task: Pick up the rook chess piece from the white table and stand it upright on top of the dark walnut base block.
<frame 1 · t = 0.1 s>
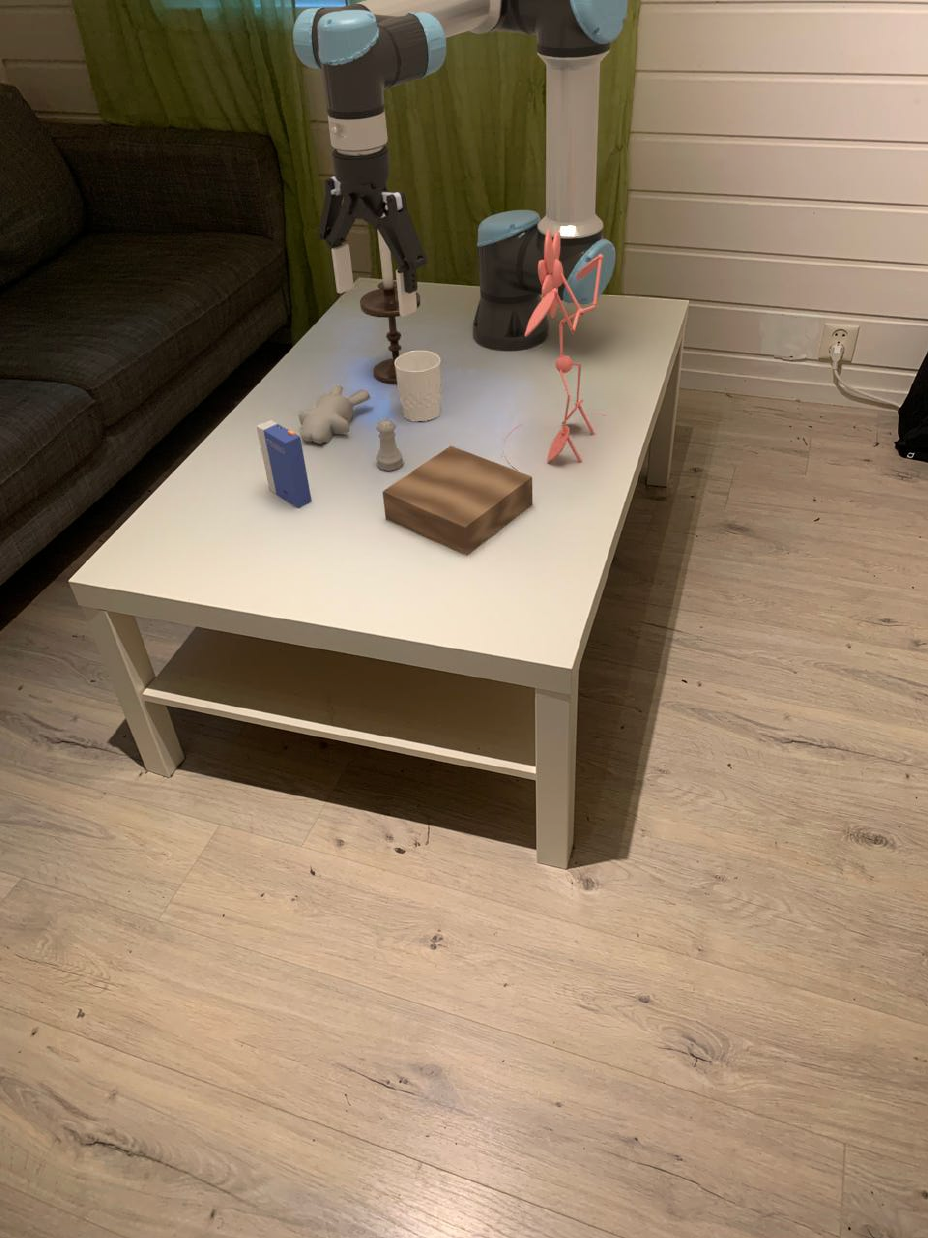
hand: (376, 301, 147), 28 cm above the table, tool pointing down, fingers open, 13 cm apart
figurine: (547, 443, 168), on the table
rook chess piece: (390, 465, 165), on the table
white cup: (422, 413, 178), on the table
candlestick: (397, 373, 190), on the table
walnut base: (459, 511, 154), on the table
walkman: (290, 496, 160), on the table
bunny figurine: (334, 426, 176), on the table
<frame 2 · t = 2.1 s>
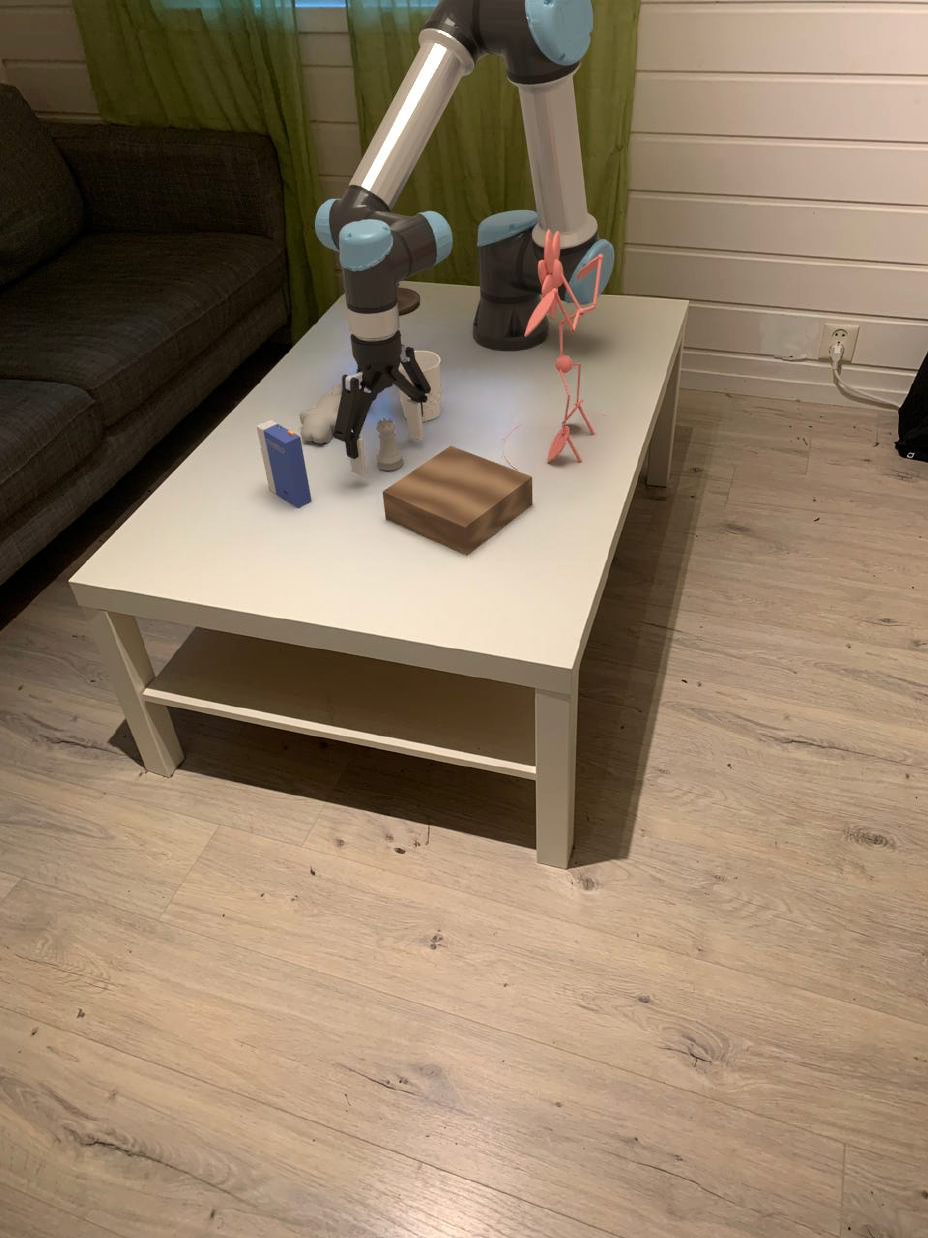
hand: (388, 454, 164), 2 cm above the table, tool pointing down, fingers open, 13 cm apart
nothing on the table moved.
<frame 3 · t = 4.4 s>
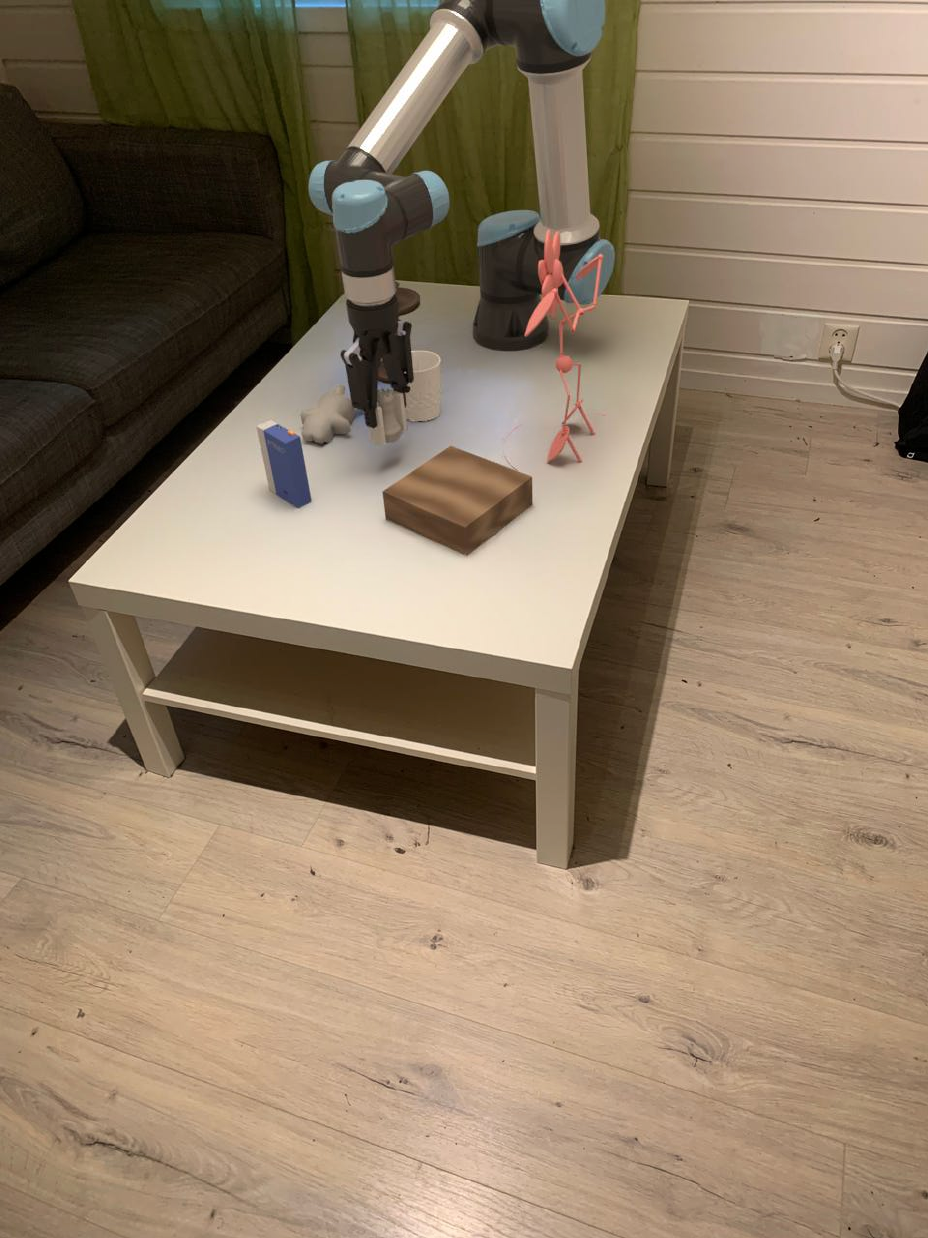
hand: (389, 434, 162), 5 cm above the table, tool pointing down, fingers closed on rook chess piece, 4 cm apart
rook chess piece: (389, 437, 162), point 5 cm above the table, touching gripper
everything else where it was.
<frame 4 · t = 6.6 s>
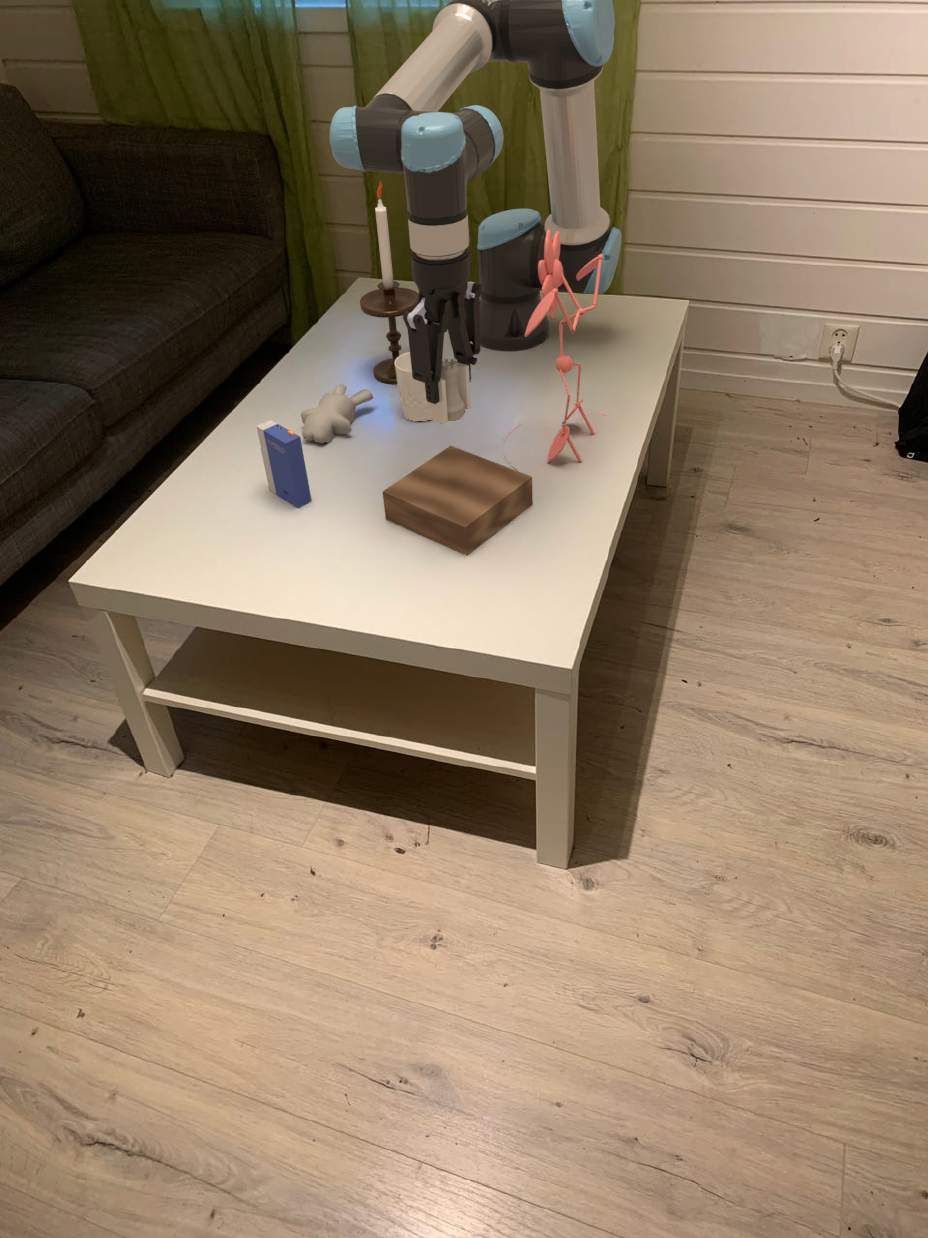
hand: (450, 412, 143), 17 cm above the table, tool pointing down, fingers closed on rook chess piece, 4 cm apart
rook chess piece: (450, 415, 143), point 16 cm above the table, touching gripper
everything else where it was.
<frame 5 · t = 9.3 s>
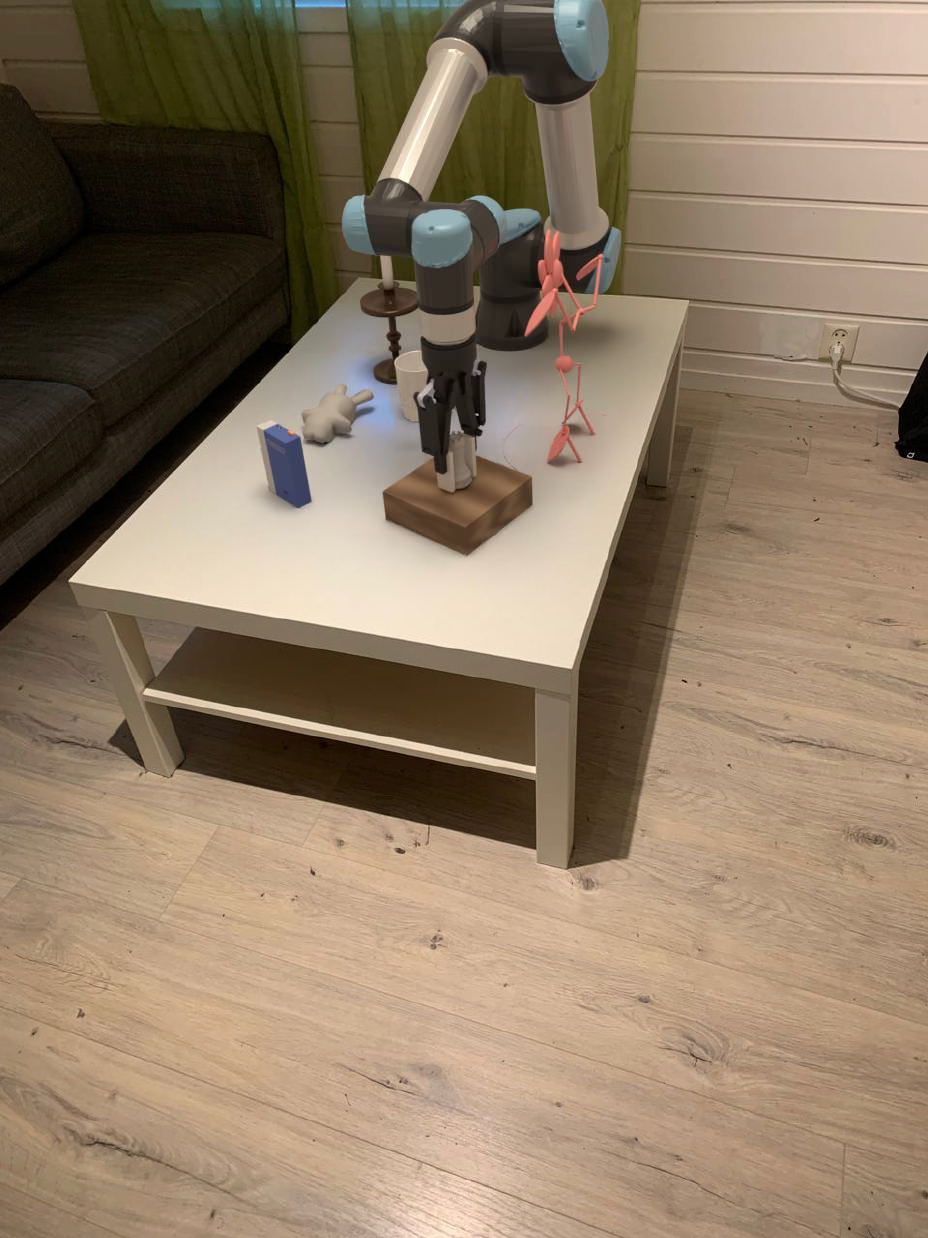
hand: (457, 480, 150), 6 cm above the table, tool pointing down, fingers closed on rook chess piece, 4 cm apart
rook chess piece: (457, 483, 151), point 5 cm above the table, touching gripper
everything else where it was.
when the fingers open (6 cm above the table, at t = 9.3 s): rook chess piece stays where it is, resting on walnut base.
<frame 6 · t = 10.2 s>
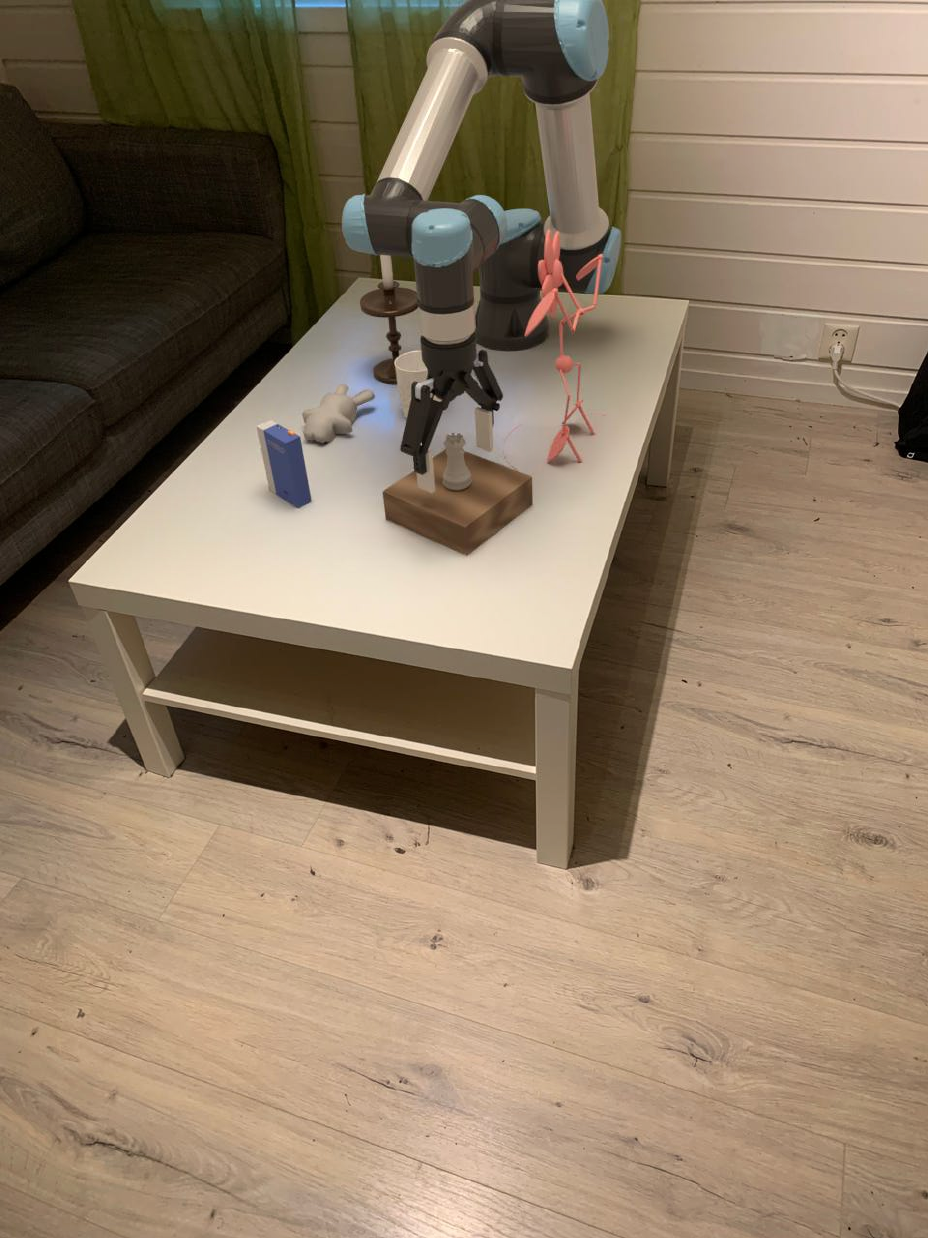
hand: (456, 468, 149), 8 cm above the table, tool pointing down, fingers open, 13 cm apart
rook chess piece: (457, 484, 151), point 5 cm above the table, touching walnut base
everything else where it was.
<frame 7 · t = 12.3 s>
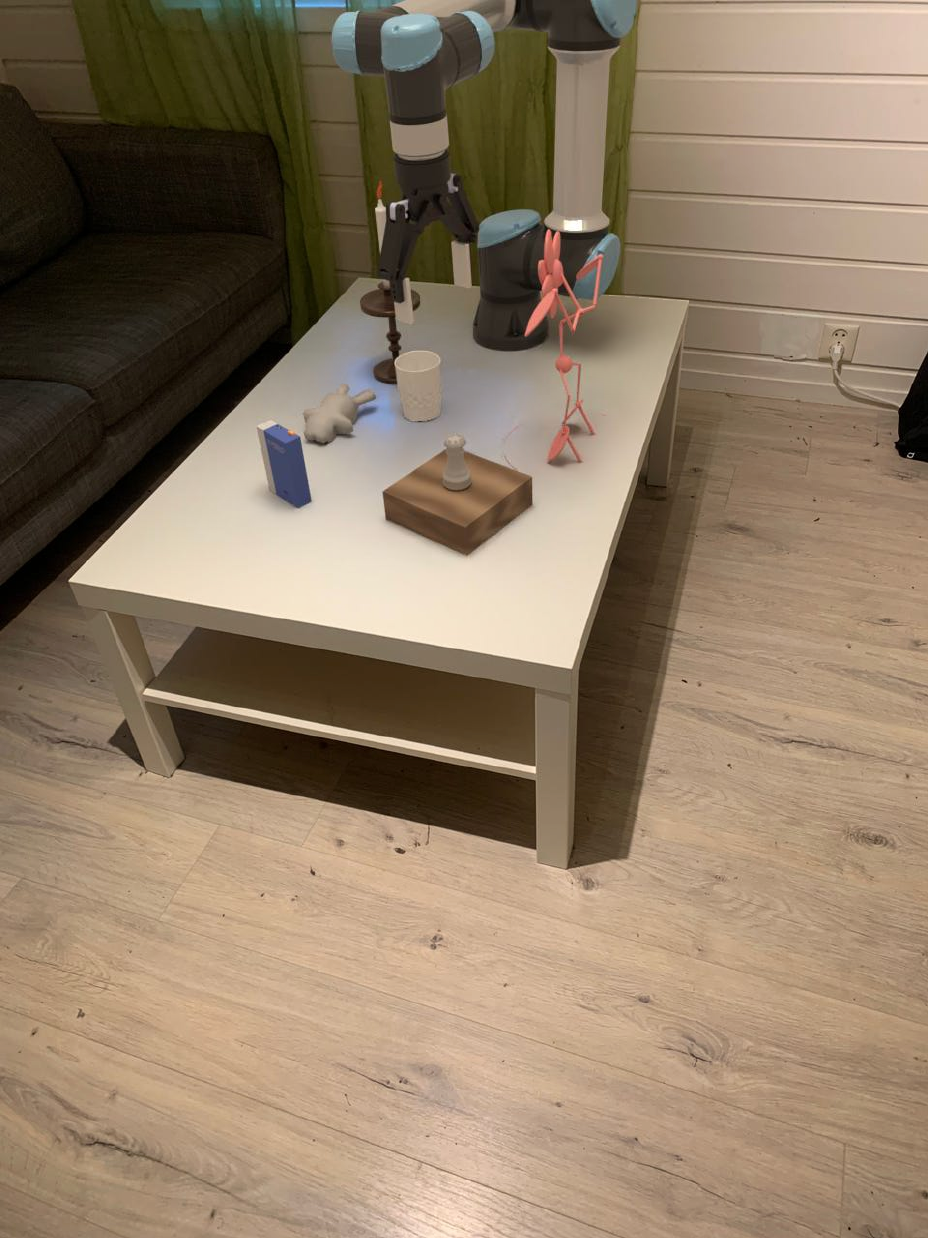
hand: (434, 303, 148), 27 cm above the table, tool pointing down, fingers open, 13 cm apart
nothing on the table moved.
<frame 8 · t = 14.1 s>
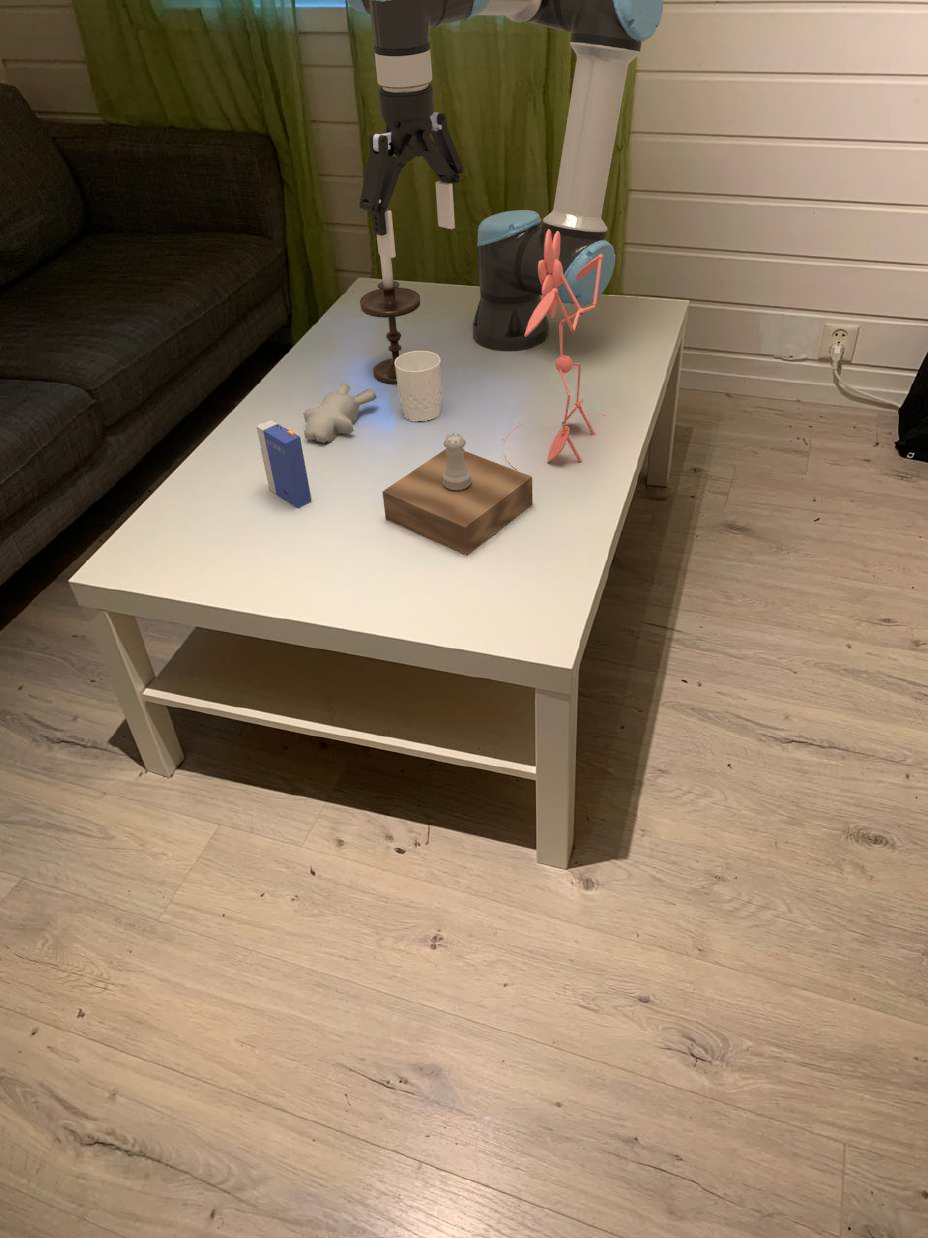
hand: (417, 240, 151), 33 cm above the table, tool pointing down, fingers open, 13 cm apart
nothing on the table moved.
at the end: rook chess piece inside the target area on the walnut base (0.1 cm from its centre), point 4.8 cm above the walnut base's base; rook chess piece tilted 0°; the gripper is holding nothing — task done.
